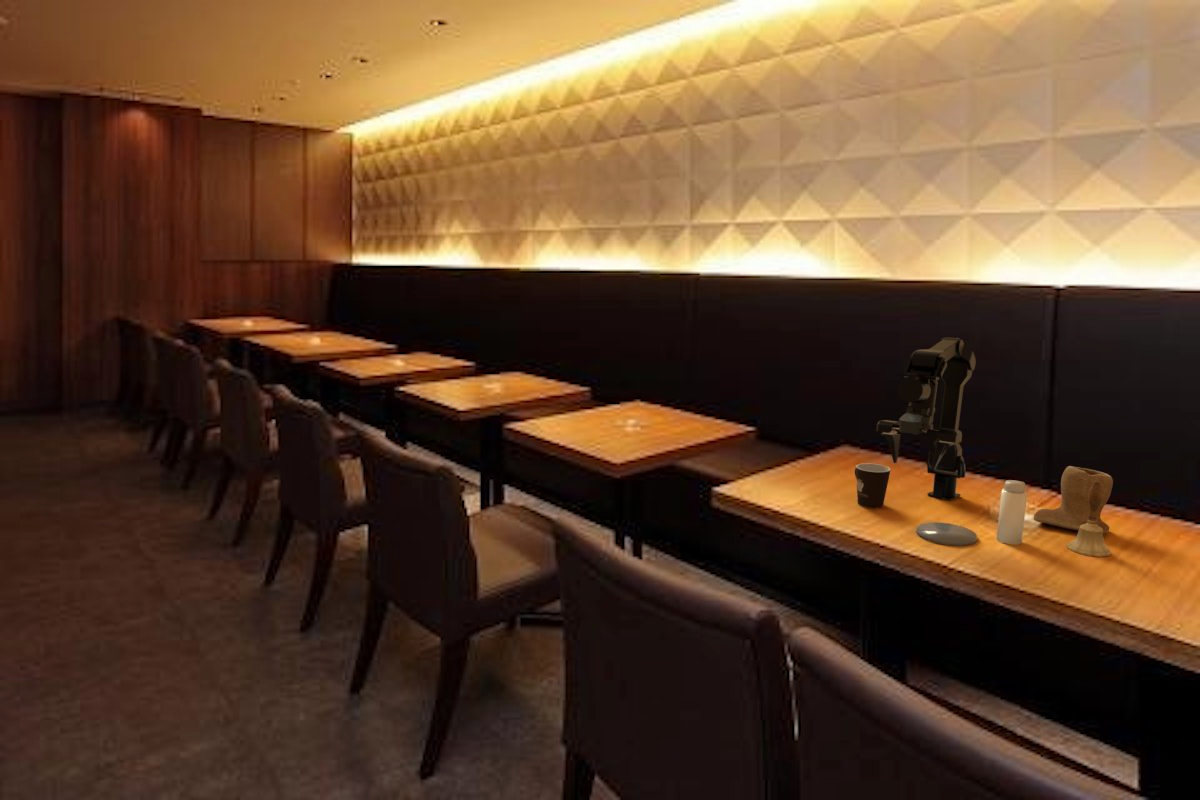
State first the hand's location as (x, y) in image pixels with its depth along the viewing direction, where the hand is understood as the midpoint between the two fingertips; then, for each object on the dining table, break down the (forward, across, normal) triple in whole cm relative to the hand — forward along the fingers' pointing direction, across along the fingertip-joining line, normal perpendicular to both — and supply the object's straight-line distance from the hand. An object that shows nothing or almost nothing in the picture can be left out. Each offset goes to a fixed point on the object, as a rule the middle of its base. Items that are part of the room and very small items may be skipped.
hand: (914, 466), depth 192 cm
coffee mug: (+13, -13, +11) cm, 21 cm away
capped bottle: (+14, +22, +4) cm, 26 cm away
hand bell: (+13, +37, +9) cm, 41 cm away
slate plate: (+15, +10, -2) cm, 18 cm away
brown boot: (+11, +32, +24) cm, 41 cm away
